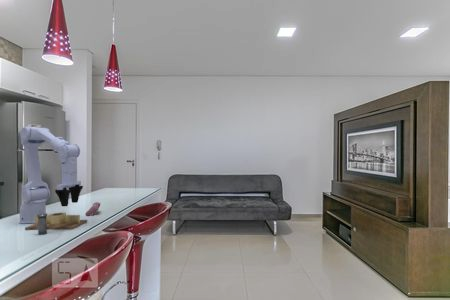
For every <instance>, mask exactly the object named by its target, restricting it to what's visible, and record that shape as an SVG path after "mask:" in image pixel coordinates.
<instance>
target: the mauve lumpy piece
mask: <svg viewBox="0 0 450 300" xmlns="http://www.w3.org/2000/svg"><path fill="white" fill-rule="evenodd" d="M100 206H101V203H100V202H98V201H96V202H94V203H93V204H92V206H91V207H90V208H89V209H88V210H87V211H86V212H85V216H86V217H89V216H91V215H95V214H96V213H97V212H98V211H99V208H100Z"/></svg>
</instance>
